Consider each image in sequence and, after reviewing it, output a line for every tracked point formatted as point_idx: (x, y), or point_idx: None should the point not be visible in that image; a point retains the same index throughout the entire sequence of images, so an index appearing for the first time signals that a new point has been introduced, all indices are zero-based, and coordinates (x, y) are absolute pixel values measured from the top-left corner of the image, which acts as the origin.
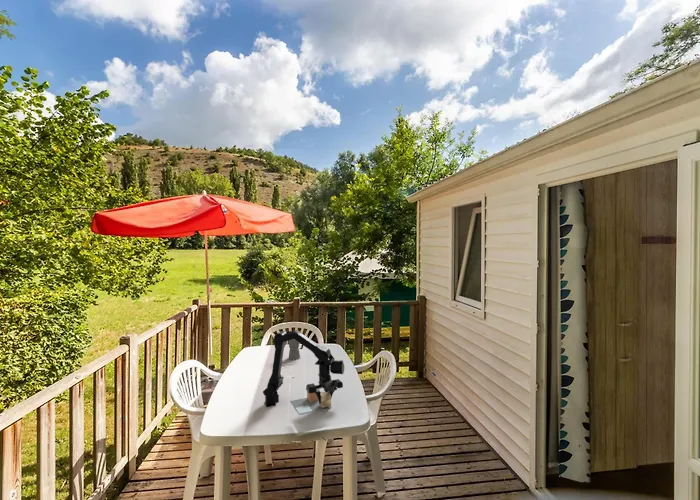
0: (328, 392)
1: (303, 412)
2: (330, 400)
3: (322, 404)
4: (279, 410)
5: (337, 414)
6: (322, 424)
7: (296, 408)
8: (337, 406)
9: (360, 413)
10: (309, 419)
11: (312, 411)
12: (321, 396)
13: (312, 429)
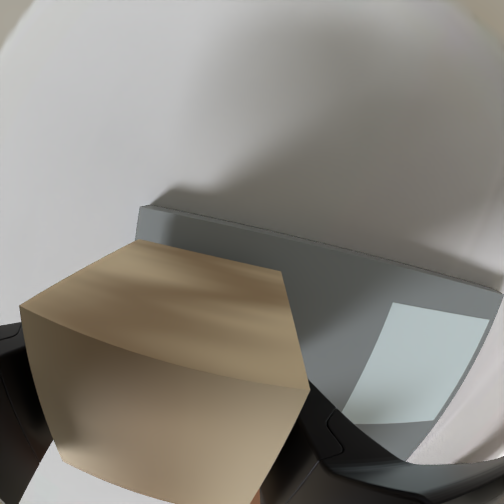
0: (52, 425)
1: (464, 317)
2: (104, 264)
3: (275, 286)
4: (472, 428)
5: (170, 71)
6: (419, 22)
7: (437, 409)
8: (70, 249)
9: (30, 24)
10: (472, 184)
11: (402, 287)
12: (297, 403)
13: (495, 43)
